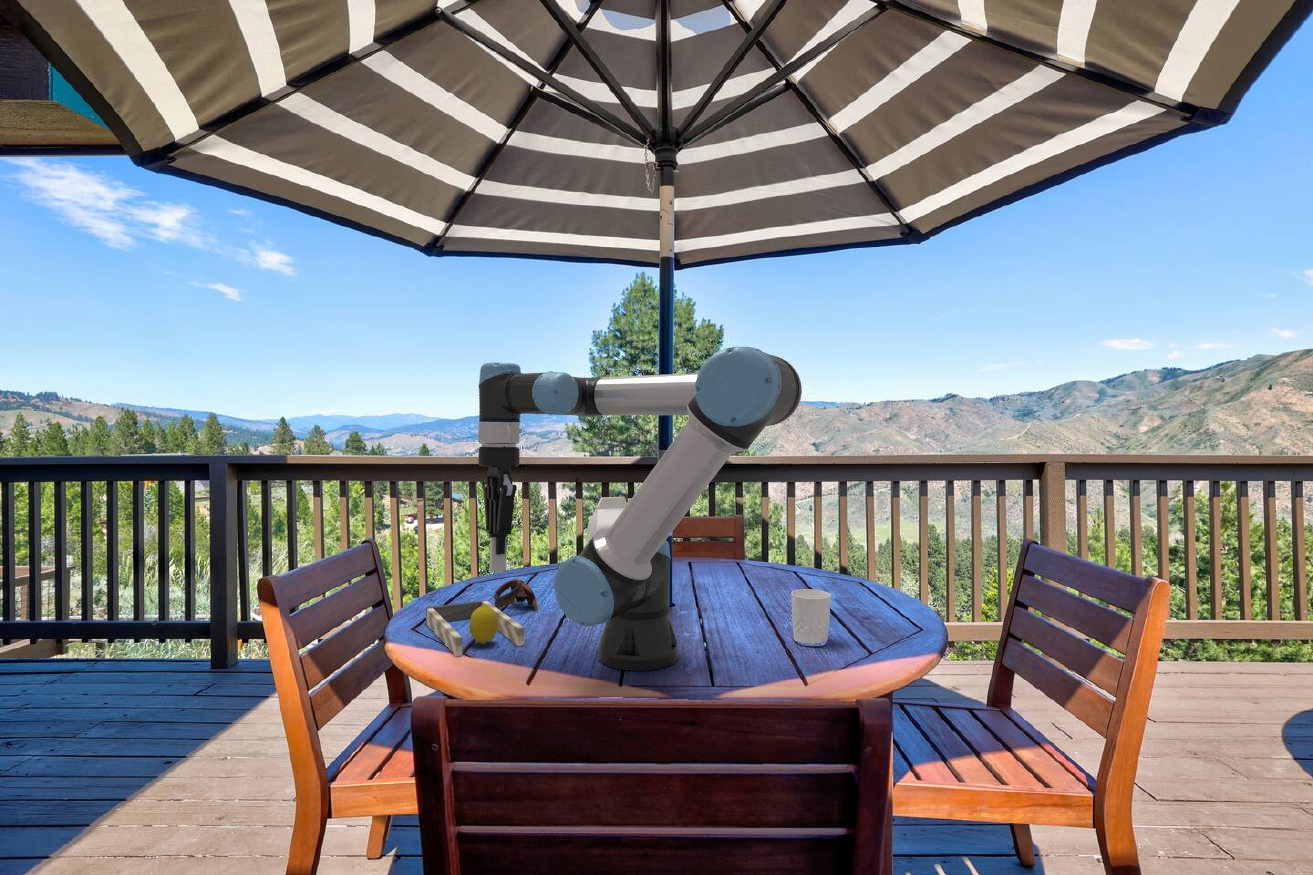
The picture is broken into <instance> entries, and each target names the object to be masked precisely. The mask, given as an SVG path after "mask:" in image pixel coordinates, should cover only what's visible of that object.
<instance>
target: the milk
mask: <svg viewBox="0 0 1313 875" xmlns="http://www.w3.org/2000/svg"><path fill="white" fill-rule="evenodd" d="M627 504H628V503H627V501H626V497H624V496H615V497H613V496H612V497H611V496H609V497H600V500H599V501H598V503H597V506H596V508H595V510H594V512H593V513H592V515H591V517H590V518H589V520H588V524H587V530H586V532H587V533H586V545H587V544H588V543H589V541H590V540H591V539H592V537H593V536H594V534H595V533H596V532H597V531H599V530H606V529H610V528H611V526H612V525H613V524H614V522H615V521H616V519H617V518H618V517H619V515H620V514H621V513H622V511H623V510H624V508H625V507H626V506H627Z"/></svg>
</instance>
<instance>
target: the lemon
mask: <svg viewBox="0 0 1313 875" xmlns="http://www.w3.org/2000/svg"><path fill="white" fill-rule="evenodd" d="M497 629H498V618H497V615H496V612H495V611H494V610H493V609H492V608H491V607H488V606H486V605H482V606H481V607H479V608H477V609H476V610H475V611H474V612H473V613H472V615H471V619H470V620H469V633H470V635H471V637H472V639H473V640H475V641H477V642H479V643H480V644H481V645H486V644H487V643H488V642H490V641H491V640H492V639H494V638H495V636H496V634H497V632H498V630H497Z"/></svg>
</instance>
